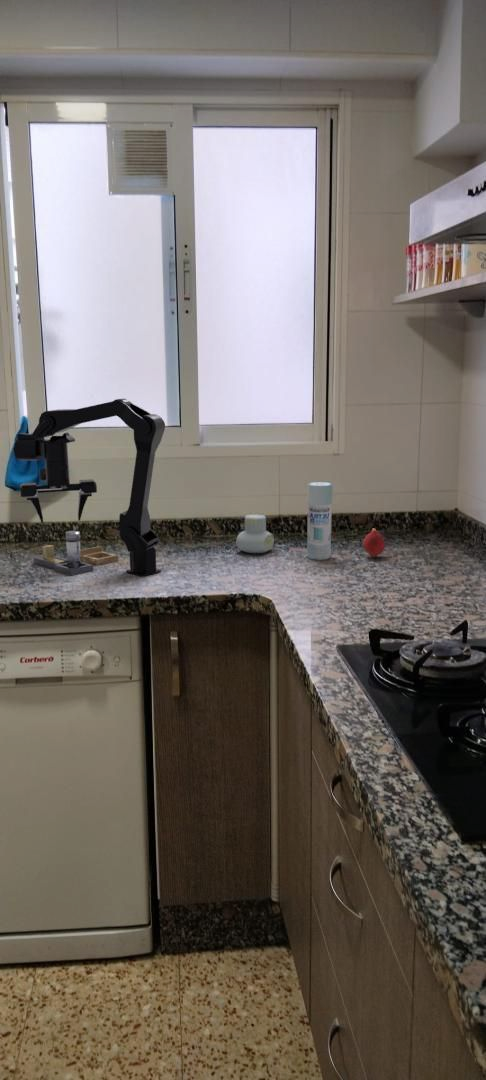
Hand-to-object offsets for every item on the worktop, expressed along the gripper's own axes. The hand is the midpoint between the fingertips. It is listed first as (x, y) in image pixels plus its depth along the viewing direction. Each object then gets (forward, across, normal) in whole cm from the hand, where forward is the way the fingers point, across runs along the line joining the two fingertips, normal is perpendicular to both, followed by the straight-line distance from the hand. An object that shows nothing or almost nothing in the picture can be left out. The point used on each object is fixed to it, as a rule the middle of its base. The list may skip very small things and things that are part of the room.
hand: (60, 521), depth 223 cm
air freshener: (+13, -53, -6) cm, 55 cm away
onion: (+14, -82, +9) cm, 83 cm away
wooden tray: (+12, -10, -5) cm, 16 cm away
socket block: (+12, +1, 0) cm, 12 cm away
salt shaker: (+12, -2, +4) cm, 13 cm away
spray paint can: (+14, -68, +5) cm, 69 cm away
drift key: (+12, +2, -3) cm, 12 cm away
